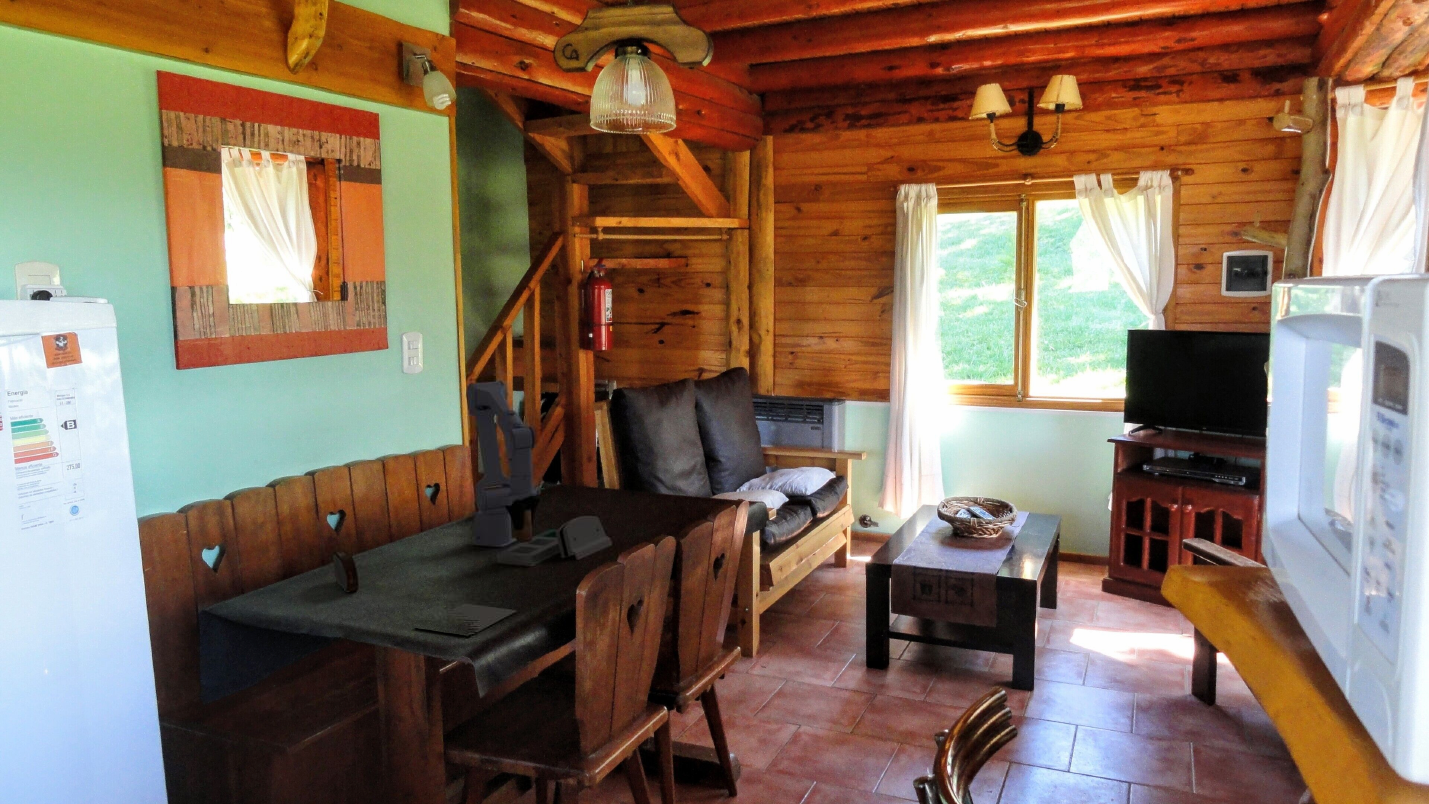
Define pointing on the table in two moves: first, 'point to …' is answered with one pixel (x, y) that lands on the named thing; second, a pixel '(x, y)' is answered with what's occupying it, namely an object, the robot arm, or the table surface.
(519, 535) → the peg
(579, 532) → the hinge
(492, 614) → the dark grey mat
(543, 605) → the table surface
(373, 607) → the table surface
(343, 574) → the tin
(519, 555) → the tray
